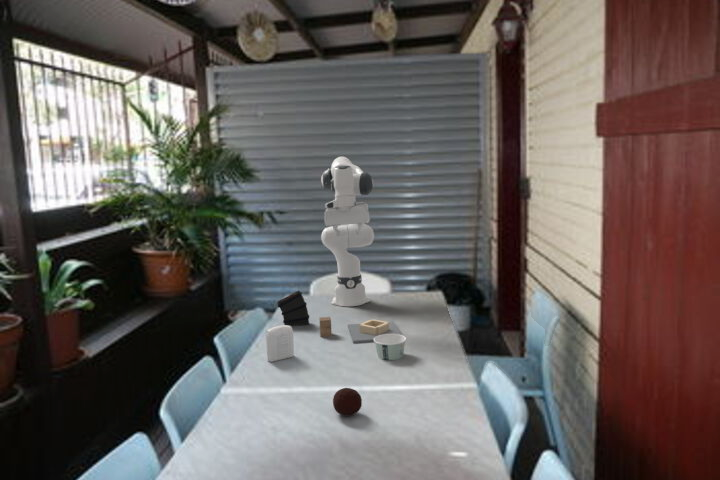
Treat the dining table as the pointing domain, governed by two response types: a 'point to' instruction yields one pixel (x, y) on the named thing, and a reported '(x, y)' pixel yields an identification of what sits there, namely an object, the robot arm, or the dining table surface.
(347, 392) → the brown ball
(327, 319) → the block
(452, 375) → the dining table surface
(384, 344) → the food container
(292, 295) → the black ridged flat block
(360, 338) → the mount plate
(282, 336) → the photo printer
